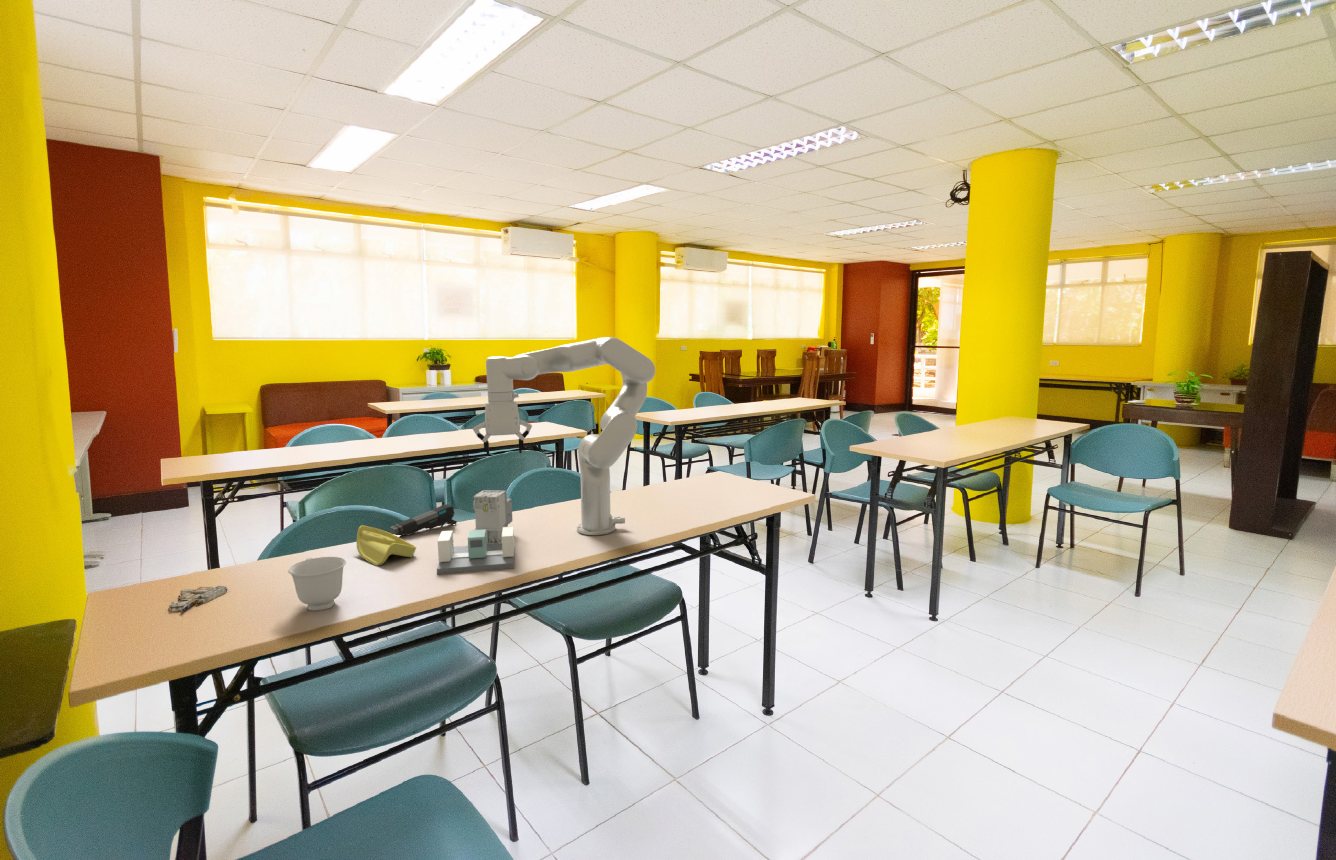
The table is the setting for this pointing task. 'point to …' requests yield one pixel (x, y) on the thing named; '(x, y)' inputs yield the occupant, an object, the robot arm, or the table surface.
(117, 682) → the table surface
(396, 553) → the plastic component
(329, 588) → the teacup
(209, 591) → the circuit board
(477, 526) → the circuit breaker
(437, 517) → the gun
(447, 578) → the table surface
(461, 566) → the rail board
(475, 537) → the block
